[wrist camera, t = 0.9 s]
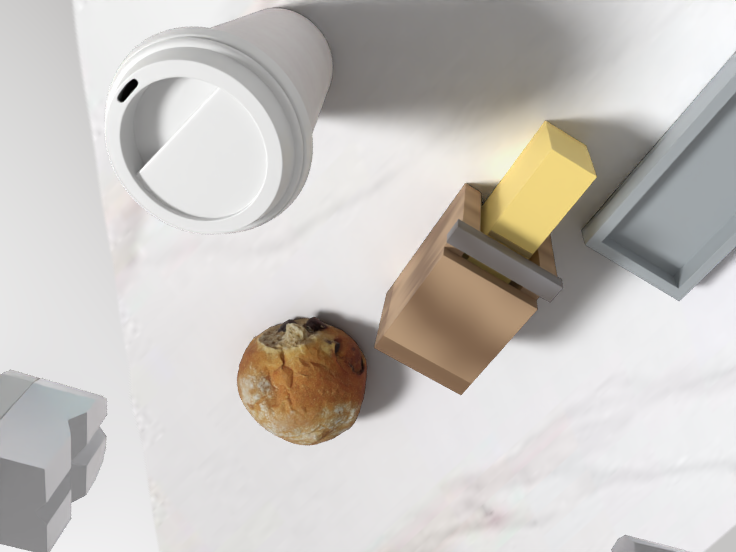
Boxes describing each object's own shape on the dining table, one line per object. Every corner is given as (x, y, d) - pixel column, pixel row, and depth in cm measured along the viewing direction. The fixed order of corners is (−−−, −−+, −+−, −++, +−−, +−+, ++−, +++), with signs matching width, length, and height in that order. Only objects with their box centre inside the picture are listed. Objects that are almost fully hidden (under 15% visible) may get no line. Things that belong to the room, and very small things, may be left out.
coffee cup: (320, -47, 39) (240, 1, 26) (381, 111, 43) (336, 219, 30) (177, 14, 42) (42, 84, 29) (247, 157, 46) (155, 272, 33)
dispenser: (461, 180, 45) (457, 226, 39) (553, 236, 46) (562, 288, 40) (382, 291, 50) (369, 345, 44) (467, 338, 51) (464, 397, 45)
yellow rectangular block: (545, 119, 42) (551, 150, 38) (585, 144, 42) (597, 178, 38) (455, 241, 47) (451, 280, 43) (492, 262, 48) (492, 303, 43)
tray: (751, 33, 38) (763, 42, 36) (854, 104, 39) (871, 115, 37) (581, 230, 45) (585, 244, 43) (672, 285, 46) (679, 301, 44)
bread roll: (251, 339, 59) (210, 424, 54) (275, 286, 50) (228, 382, 46) (356, 387, 60) (324, 474, 55) (397, 343, 51) (364, 442, 47)
